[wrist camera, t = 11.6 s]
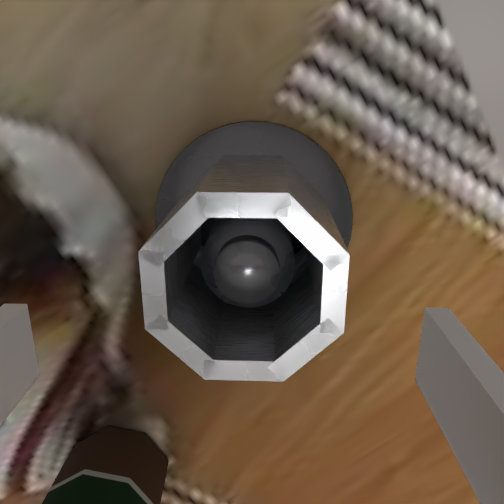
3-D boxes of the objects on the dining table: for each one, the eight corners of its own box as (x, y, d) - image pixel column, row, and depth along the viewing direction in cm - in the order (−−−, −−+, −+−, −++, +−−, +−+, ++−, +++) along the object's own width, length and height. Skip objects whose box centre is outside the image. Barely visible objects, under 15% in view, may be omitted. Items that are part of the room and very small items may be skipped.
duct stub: (126, 252, 30) (73, 313, 22) (215, 80, 26) (190, 79, 18) (285, 337, 32) (290, 423, 24) (390, 187, 28) (438, 229, 20)
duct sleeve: (180, 154, 27) (132, 191, 18) (325, 155, 27) (354, 193, 18) (187, 286, 30) (149, 378, 21) (318, 288, 30) (340, 382, 20)
